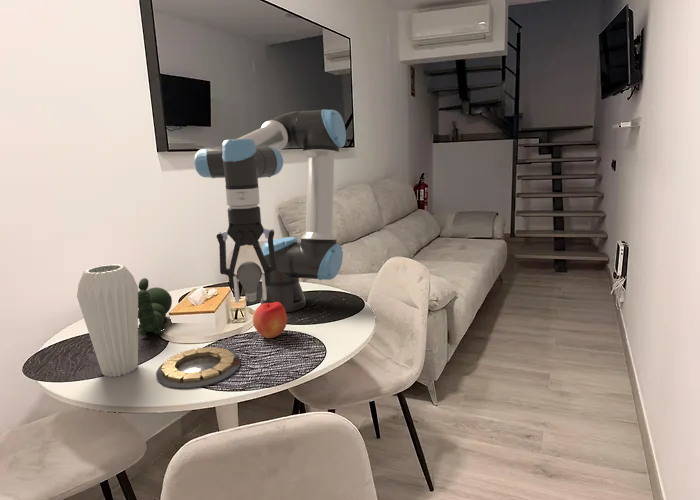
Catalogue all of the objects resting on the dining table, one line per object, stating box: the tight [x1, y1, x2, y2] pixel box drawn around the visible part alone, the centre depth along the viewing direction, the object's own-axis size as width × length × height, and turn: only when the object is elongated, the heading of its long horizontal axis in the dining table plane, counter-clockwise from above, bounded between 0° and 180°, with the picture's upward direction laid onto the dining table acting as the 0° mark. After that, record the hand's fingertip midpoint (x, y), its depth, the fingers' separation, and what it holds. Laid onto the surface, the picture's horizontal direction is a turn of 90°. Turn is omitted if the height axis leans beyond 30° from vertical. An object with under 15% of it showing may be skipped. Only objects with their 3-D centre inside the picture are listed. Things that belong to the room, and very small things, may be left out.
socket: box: [155, 346, 241, 390], centre depth 118 cm, size 20×20×2 cm
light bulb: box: [236, 260, 263, 303], centre depth 116 cm, size 6×6×10 cm
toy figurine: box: [138, 277, 173, 336], centre depth 145 cm, size 9×19×25 cm
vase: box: [76, 263, 139, 378], centre depth 117 cm, size 13×13×26 cm
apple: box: [252, 302, 288, 339], centre depth 136 cm, size 10×10×10 cm
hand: (251, 299), depth 117 cm, fingers closed on light bulb, 6 cm apart
